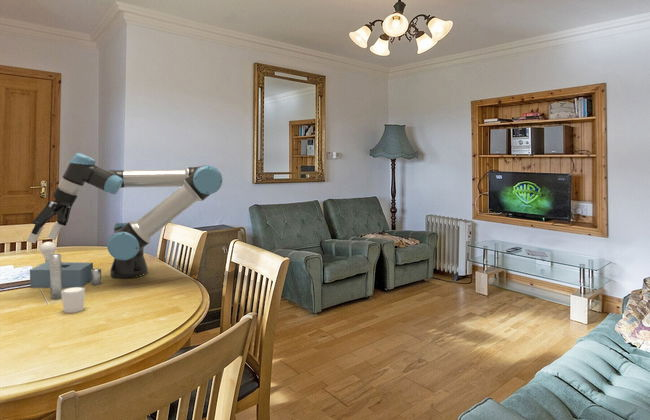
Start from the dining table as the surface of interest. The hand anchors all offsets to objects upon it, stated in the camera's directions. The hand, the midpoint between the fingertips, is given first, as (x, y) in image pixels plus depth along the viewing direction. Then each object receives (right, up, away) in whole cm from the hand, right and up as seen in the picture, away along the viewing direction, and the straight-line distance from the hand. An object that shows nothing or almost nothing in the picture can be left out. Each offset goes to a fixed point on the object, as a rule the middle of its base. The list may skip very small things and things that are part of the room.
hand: (41, 240), depth 157 cm
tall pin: (+12, -20, -9) cm, 25 cm away
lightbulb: (-19, -14, +32) cm, 40 cm away
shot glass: (+25, -22, -19) cm, 39 cm away
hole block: (+3, -18, +8) cm, 20 cm away
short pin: (+16, -18, +8) cm, 26 cm away
